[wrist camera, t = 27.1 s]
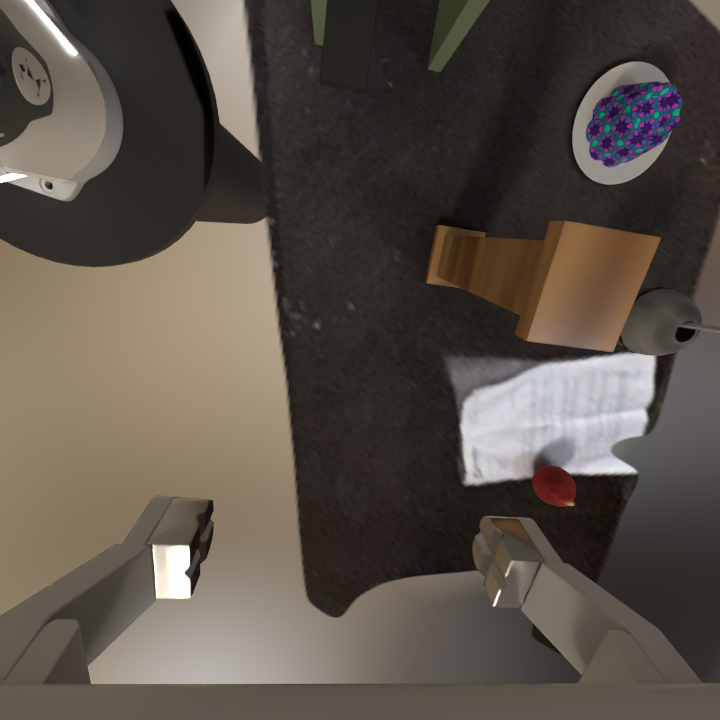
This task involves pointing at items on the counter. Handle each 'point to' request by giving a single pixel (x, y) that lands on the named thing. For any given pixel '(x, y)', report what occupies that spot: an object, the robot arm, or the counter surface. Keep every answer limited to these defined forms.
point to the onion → (554, 486)
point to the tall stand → (550, 278)
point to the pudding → (625, 122)
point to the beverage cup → (661, 322)
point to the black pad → (347, 43)
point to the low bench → (453, 22)
